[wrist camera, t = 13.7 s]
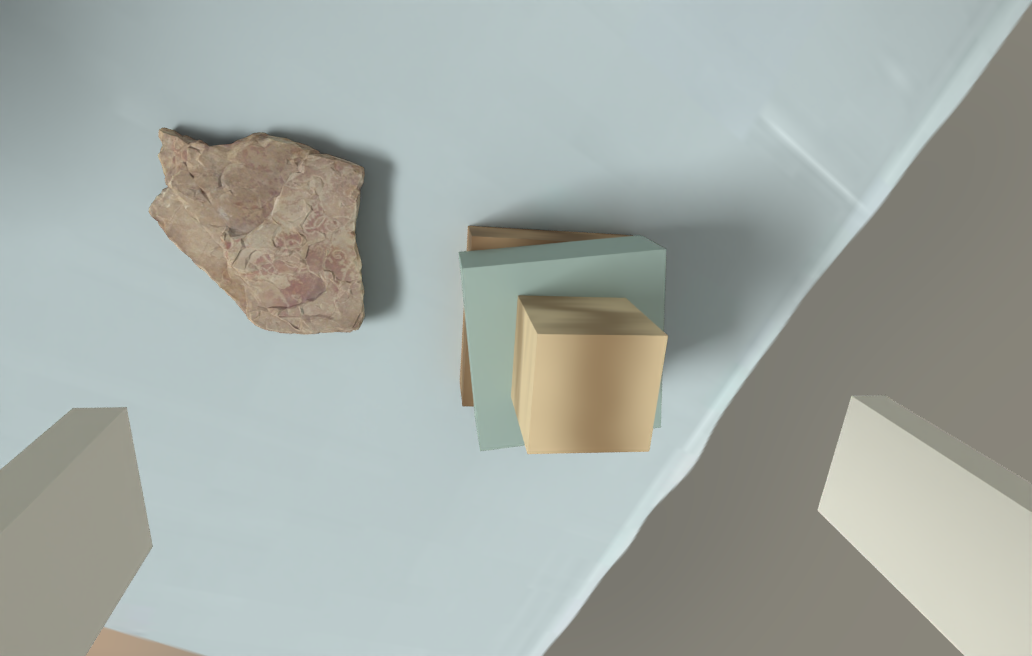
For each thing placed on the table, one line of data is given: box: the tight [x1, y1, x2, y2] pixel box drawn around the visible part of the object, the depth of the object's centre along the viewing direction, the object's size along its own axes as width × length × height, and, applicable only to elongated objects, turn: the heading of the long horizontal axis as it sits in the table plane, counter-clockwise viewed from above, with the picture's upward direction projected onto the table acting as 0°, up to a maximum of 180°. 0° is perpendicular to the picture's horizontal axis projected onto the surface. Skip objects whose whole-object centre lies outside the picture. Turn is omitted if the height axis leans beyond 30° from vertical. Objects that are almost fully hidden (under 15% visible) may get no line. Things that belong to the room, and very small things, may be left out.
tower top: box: [459, 235, 666, 451], centre depth 34 cm, size 11×11×4 cm
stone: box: [149, 128, 365, 334], centre depth 34 cm, size 12×12×3 cm
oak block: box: [511, 295, 668, 454], centre depth 29 cm, size 6×6×6 cm
